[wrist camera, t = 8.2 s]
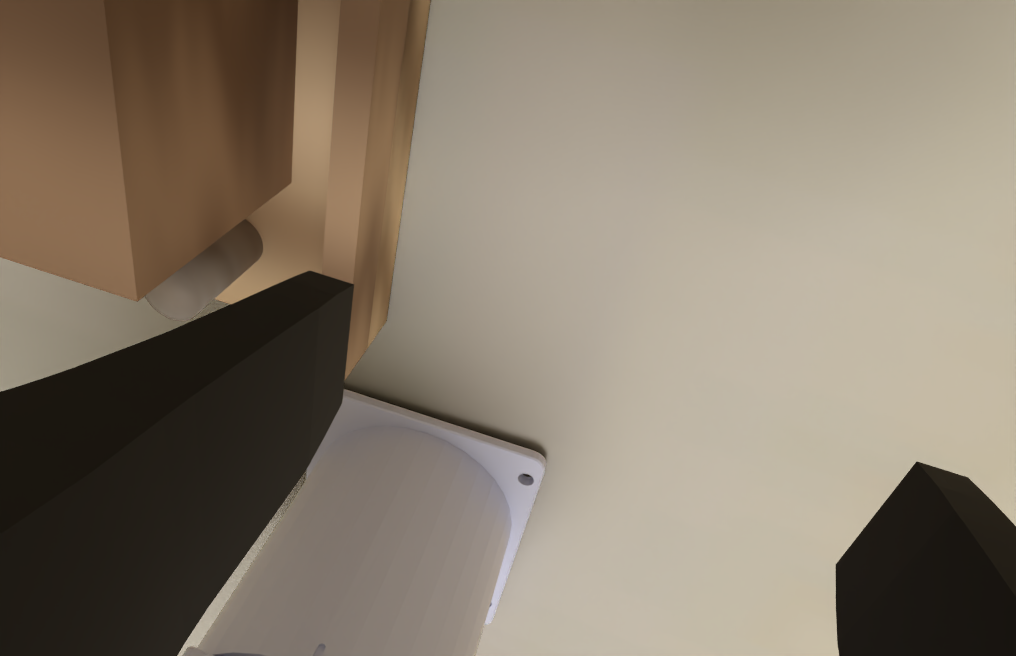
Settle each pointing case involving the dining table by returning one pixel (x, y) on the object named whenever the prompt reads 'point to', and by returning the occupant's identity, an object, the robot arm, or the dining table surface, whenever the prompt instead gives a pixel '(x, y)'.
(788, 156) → the dining table surface
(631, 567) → the dining table surface
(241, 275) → the wooden stand base
